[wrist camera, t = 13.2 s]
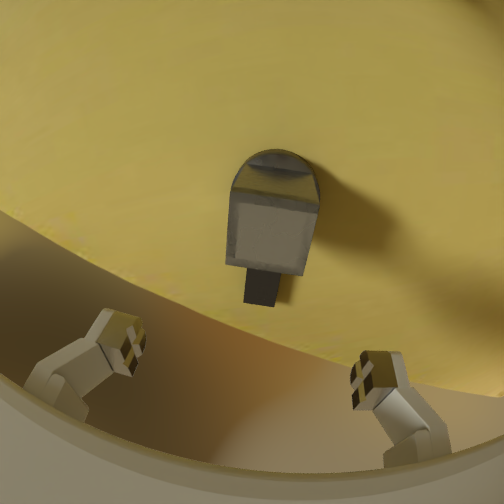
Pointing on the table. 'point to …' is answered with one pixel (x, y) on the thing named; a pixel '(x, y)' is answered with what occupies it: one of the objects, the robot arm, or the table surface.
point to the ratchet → (260, 281)
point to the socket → (271, 219)
